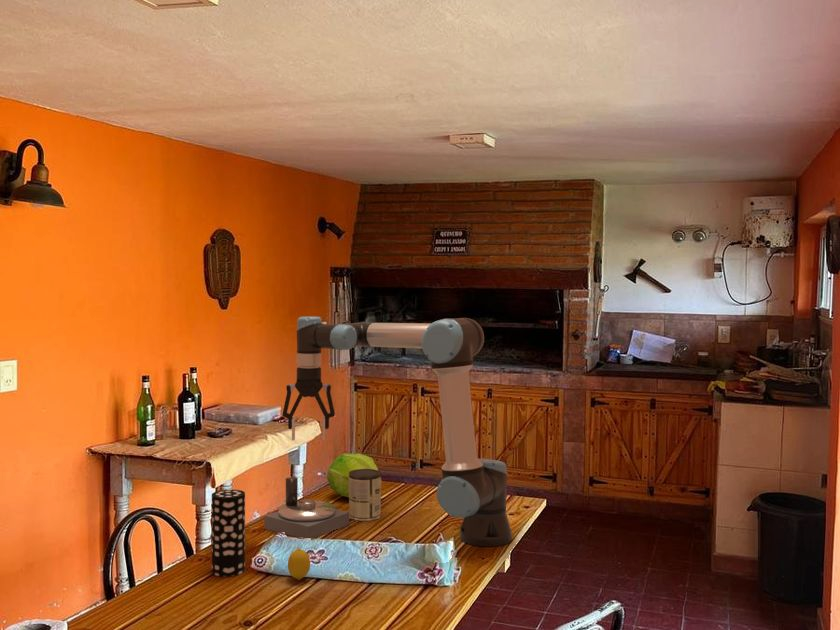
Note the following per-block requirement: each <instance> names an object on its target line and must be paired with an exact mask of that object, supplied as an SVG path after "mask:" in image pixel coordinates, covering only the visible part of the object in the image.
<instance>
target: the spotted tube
mask: <svg viewBox="0 0 840 630" xmlns="http://www.w3.org/2000/svg"><path fill="white" fill-rule="evenodd" d="M245 571H246V492H245V491H243V490H240V489H222V490H216V491H214V492H212V493H211V573H212V574H213V575H214V576H217V577H234V576H239V575H241V574H243V573H244V572H245Z"/></svg>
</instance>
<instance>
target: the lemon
mask: <svg viewBox="0 0 840 630" xmlns="http://www.w3.org/2000/svg"><path fill="white" fill-rule="evenodd" d="M310 559H311V558H310V555H309V554H308V553H307V551H306V550H304V549H302V548H297V549H295V550H293V551H292V552H291V553H290V554H289V557H288V562H287V570H288V573H289V575H290V576H291V577H292V578H294V579H296V580H297V581H301V579H303V578H305V577H306V576H307V575H308V574H309V572H310V568H311V560H310Z"/></svg>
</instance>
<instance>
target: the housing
mask: <svg viewBox="0 0 840 630" xmlns="http://www.w3.org/2000/svg"><path fill="white" fill-rule="evenodd" d="M263 516H264V520H263V521H264V522H263V523H264V526H263V527H264V528H263V529H264V530H267V531H272V532H275V533H279V532H285V533H286V534H287V536H290V537H294V536H295V538H298V537H303V538H314V539H316V538H319V537H321V536H320V535H322V534H324V535H326V534H325V533H327V534H329V533H328V532H330V533H331V531H332V532H334V531H333V530H335V531H337V530H336V529H338V530H340V529H342V527H343V528H345V527H348V526H350V518H349V511H346V510H342V509H341V510H340V509H336V508H335V514H334V515H333V516H332V517H329V518H326V519H323V520H317V521H292V520H287V519H284V518H282V517H280V516H279V510H277V511H274V512H271V513H269V514H265V515H263ZM347 525H348V526H347ZM339 528H340V529H339ZM286 534H285V535H286ZM318 536H319V537H318ZM322 536H323V535H322ZM315 537H316V538H315Z"/></svg>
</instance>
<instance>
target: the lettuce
mask: <svg viewBox="0 0 840 630" xmlns="http://www.w3.org/2000/svg"><path fill="white" fill-rule="evenodd" d="M357 469H375V470H379V469H378V466H377V464H375V461H374V460H373V457H370V456H368V455H365V454H363V453H359V452H358V453H357V452H356V453H350V452H349V453H348V452H345V453H342V454H340V455H338V456H337V457H336V458H335V460H334V461H333V462H332V464H330V466H329V467H328V470H327V475H326V478H327V481H328V484H329V486H330V488H331V489H332V491H334V492H335V493H336V494H338V495H339V496H342V497H345V498H348V499H349V472H350V471H352V470H357ZM382 482H383V481H382V480H381V485H382Z"/></svg>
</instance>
